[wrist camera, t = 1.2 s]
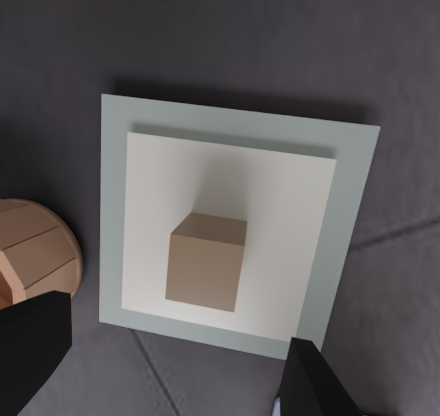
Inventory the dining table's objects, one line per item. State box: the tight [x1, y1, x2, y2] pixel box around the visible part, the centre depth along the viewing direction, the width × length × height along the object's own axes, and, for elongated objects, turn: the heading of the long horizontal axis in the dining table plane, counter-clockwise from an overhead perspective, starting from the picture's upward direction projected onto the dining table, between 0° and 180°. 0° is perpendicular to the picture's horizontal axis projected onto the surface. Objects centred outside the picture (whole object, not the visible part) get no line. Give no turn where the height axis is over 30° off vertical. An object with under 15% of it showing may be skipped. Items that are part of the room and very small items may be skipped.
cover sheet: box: [121, 132, 337, 342], centre depth 15 cm, size 12×12×5 cm
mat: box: [99, 94, 380, 360], centre depth 17 cm, size 16×16×1 cm
